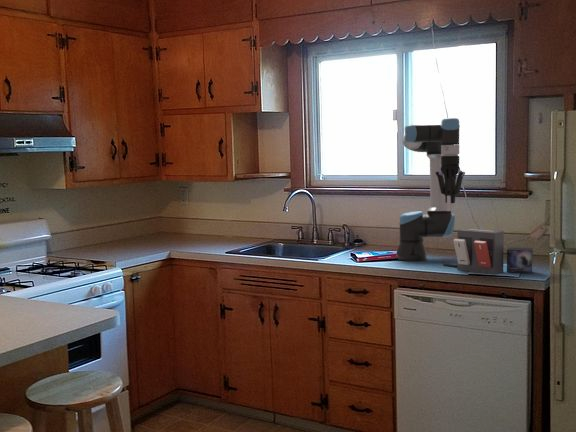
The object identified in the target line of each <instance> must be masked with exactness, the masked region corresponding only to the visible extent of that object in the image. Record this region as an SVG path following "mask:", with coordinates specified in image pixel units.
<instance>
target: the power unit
mask: <svg viewBox="0 0 576 432" xmlns="http://www.w3.org/2000/svg"><path fill="white" fill-rule="evenodd" d="M456 232H457V238H456V239H464V240H465V241H466V246H467V251H468V255H469V260H470V264H469V265H464V264H458V260H457V264H455V263H444V262H443V263H442V265H443V266H444V267H452V268H457V271H464V272H465V271H466V272H474V273H482V274H488V273H490V275H498V274H500V273H502V272H503V273H504V234H505V232H504V230H493V229H479V228H468V227H467V228H462V229H458V230H457V231H456ZM475 241H486V242H487V247H488V252H489V257H490V262H491V266H490V267H481V266H479V264H478V259H477V255H476V250H475V245H474V242H475Z"/></svg>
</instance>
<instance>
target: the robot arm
mask: <svg viewBox="0 0 576 432" xmlns="http://www.w3.org/2000/svg"><path fill="white" fill-rule="evenodd" d="M403 133H404V134H403V136H402V144H403V146H404V147H405V148H406V149H407V150H409V151H412V152H417V153H426V157H428V159H429V191H430V192H429V195H430V197H429V198H430V203H429V204H430V206H429V208H428V209H427V211H426V212H427V213H424V211H421V210H419V211H409V212H404V213H401V215H400V216H399V222H398V224H399V244H398V248H397V250H396V253H395V254H396V255H395V256H397V258H398V259H397V258H396V259H397V260H400V261H410V262H411V261H414V262H415V261H424V260H425V261H426V260H427V259H428V253H427V251H426V248H425V245H424V238H443V239H444V238H450V237H451V236H453V232H454V229H455V222H456V221H455V219H456V218H455V217H456V216H455V214H454V213H452V211H454V203H455V204H456V195H459V194H460V192H461V187H462V183H463V179H464V176H465V174H466V172H465V171H462V170H461V168H460V156H459V154H460V120H459V118H456V117H454V118H453V117H452V118H450V117H449V118H448V117H447V118H442V119H441V121H440V124H439V123H436V124H435V123H434V124H409V125H405V126H404V132H403Z"/></svg>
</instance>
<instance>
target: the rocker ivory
mask: <svg viewBox="0 0 576 432" xmlns="http://www.w3.org/2000/svg"><path fill="white" fill-rule="evenodd" d="M453 244H454V245H453V246H454V250H455V255H456V259H457V260H458V264H464V265H469V264H470V260H469V255H468V251H467V246H466V241H465V240H464V239H457V238H453Z"/></svg>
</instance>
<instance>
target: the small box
mask: <svg viewBox="0 0 576 432" xmlns="http://www.w3.org/2000/svg"><path fill="white" fill-rule="evenodd" d="M507 272H508V273H507ZM506 273H507V274H509V273H511V274H512V273H513V274H528V275H529V274H531V275H532V274H533V248H532V247H516V246H515V247H513V246H511V247H509V246H508V247H506Z"/></svg>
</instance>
